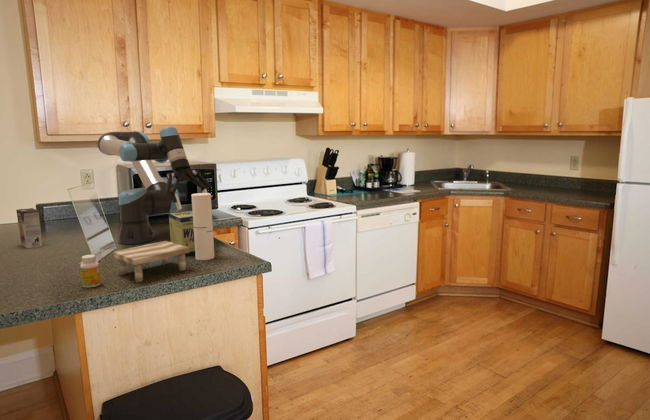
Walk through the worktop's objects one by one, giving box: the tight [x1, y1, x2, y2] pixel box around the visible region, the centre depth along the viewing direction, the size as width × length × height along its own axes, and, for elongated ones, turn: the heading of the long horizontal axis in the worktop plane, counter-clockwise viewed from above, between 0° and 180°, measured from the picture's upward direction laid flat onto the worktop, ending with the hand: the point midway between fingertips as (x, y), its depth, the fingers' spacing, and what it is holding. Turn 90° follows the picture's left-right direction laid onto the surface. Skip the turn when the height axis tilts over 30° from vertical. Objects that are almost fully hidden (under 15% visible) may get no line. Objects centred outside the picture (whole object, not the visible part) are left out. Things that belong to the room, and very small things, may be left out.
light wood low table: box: [112, 240, 189, 283], centre depth 159 cm, size 16×20×8 cm
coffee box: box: [16, 207, 44, 249], centre depth 198 cm, size 9×6×16 cm
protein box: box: [168, 210, 195, 257], centre depth 186 cm, size 10×16×16 cm
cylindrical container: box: [191, 192, 215, 261], centre depth 174 cm, size 7×7×25 cm
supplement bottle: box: [79, 254, 102, 289], centre depth 146 cm, size 5×5×10 cm
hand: (194, 206), depth 192 cm, fingers open, 13 cm apart
